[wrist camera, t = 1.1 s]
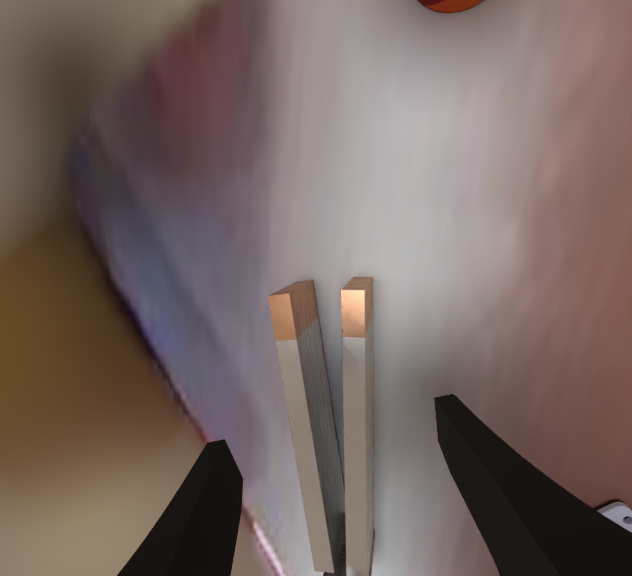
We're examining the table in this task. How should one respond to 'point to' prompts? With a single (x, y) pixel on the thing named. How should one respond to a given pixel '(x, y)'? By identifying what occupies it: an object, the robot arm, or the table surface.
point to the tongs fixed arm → (357, 429)
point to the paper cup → (449, 5)
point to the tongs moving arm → (310, 418)
